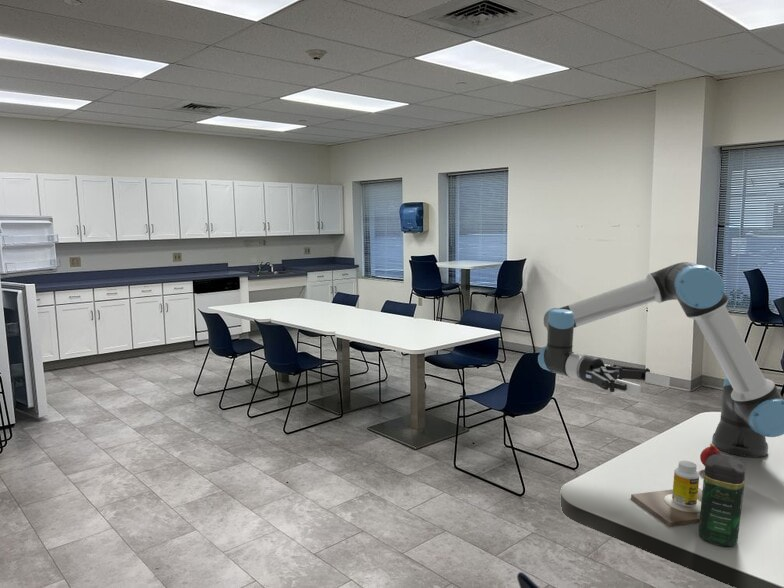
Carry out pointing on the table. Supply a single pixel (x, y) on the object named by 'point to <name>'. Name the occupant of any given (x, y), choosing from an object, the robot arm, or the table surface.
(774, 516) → the table surface
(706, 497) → the coffee jar
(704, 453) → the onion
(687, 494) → the supplement bottle
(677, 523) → the brown flat board
